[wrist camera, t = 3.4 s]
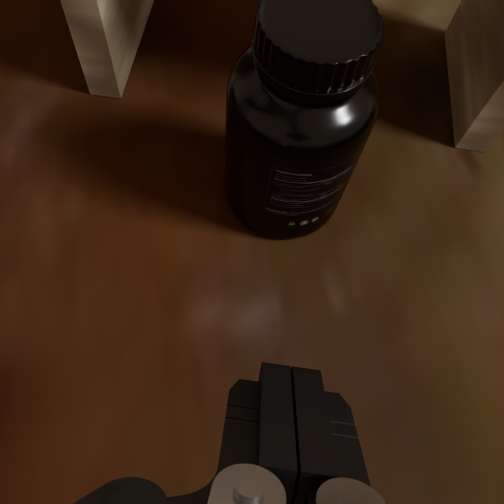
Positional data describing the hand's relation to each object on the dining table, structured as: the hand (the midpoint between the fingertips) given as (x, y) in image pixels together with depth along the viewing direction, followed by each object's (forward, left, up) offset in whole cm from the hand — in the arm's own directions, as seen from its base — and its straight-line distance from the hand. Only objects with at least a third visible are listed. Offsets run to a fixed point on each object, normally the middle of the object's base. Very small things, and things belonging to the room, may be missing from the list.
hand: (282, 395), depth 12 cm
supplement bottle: (0, +14, -11) cm, 18 cm away
